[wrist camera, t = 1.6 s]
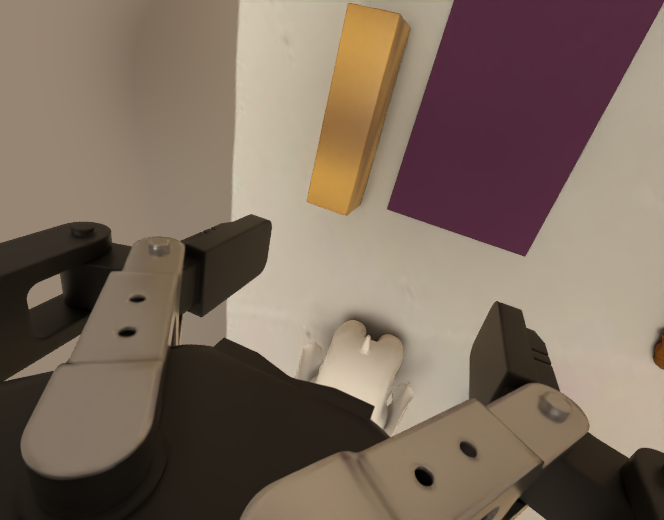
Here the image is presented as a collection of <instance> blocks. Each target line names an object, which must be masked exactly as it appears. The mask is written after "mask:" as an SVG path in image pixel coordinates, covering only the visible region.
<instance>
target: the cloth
mask: <svg viewBox="0 0 664 520" xmlns="http://www.w3.org/2000/svg"><path fill="white" fill-rule="evenodd" d="M663 3H664V0H454V3H453V6H452V9H451V12H450V15H449V18H448V21H447V24H446V27H445V31H444V34H443V37H442V40H441V43H440V46H439V49H438V52H437V55H436V59H435V62H434V65H433V68H432V71H431V74H430V77H429V80H428V83H427V87H426V90H425V93H424V96H423V99H422V102H421V105H420V108H419V111H418V115H417V118H416V121H415V124H414V127H413V130H412V133H411V136H410V139H409V143H408V146H407V149H406V152H405V155H404V158H403V161H402V164H401V167H400V171H399V174H398V177H397V180H396V183H395V186H394V189H393V192H392V195H391V199H390V202H389V205H388V208H387V209H388V210H391V211H394V212H397V213H399V214H402V215H405V216H408V217H411V218H414V219H417V220H420V221H423V222H426V223H429V224H432V225H435V226H437V227H440V228H443V229H446V230H449V231H452V232H455V233H458V234H461V235H464V236H467V237H470V238H472V239H475V240H478V241H481V242H484V243H487V244H490V245H493V246H496V247H499V248H502V249H505V250H507V251H510V252H513V253H516V254H519V255H522V256H526V254H527V252H528V250H529V248H530V247H531V245H532V243H533V241H534V239H535V237H536V236H537V234H538V232H539V230H540V228H541V226H542V225H543V223H544V221H545V219H546V217H547V215H548V214H549V212H550V210H551V208H552V206H553V204H554V203H555V201H556V199H557V197H558V195H559V193H560V192H561V190H562V188H563V186H564V184H565V183H566V181H567V179H568V177H569V175H570V173H571V172H572V170H573V168H574V166H575V164H576V162H577V161H578V159H579V157H580V155H581V153H582V151H583V150H584V148H585V146H586V144H587V142H588V140H589V139H590V137H591V135H592V133H593V131H594V129H595V128H596V126H597V124H598V122H599V120H600V118H601V117H602V115H603V113H604V111H605V109H606V107H607V106H608V104H609V102H610V100H611V98H612V96H613V95H614V93H615V91H616V89H617V87H618V85H619V84H620V82H621V80H622V78H623V76H624V74H625V73H626V71H627V69H628V67H629V65H630V63H631V62H632V60H633V58H634V56H635V54H636V52H637V51H638V49H639V47H640V45H641V43H642V41H643V40H644V38H645V36H646V34H647V32H648V30H649V29H650V27H651V25H652V23H653V21H654V19H655V18H656V16H657V14H658V12H659V10H660V8H661V7H662V5H663Z"/></svg>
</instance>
